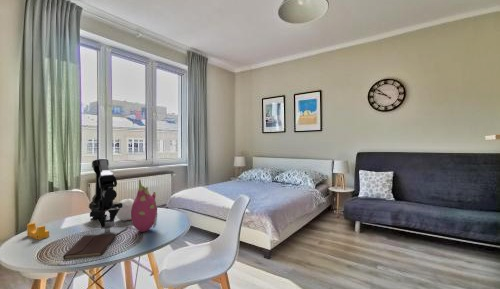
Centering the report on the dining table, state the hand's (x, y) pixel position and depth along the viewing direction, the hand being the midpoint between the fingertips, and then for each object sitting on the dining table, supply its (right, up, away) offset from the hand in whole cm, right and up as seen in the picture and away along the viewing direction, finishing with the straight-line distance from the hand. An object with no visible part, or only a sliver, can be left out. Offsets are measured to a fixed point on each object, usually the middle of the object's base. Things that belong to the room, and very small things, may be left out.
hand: (107, 224), depth 130 cm
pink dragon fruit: (+19, -5, +3) cm, 20 cm away
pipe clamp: (-35, -5, -4) cm, 35 cm away
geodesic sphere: (-1, -5, +22) cm, 23 cm away
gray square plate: (0, -5, 0) cm, 5 cm away
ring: (0, -1, 0) cm, 1 cm away
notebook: (+3, -5, -17) cm, 18 cm away
